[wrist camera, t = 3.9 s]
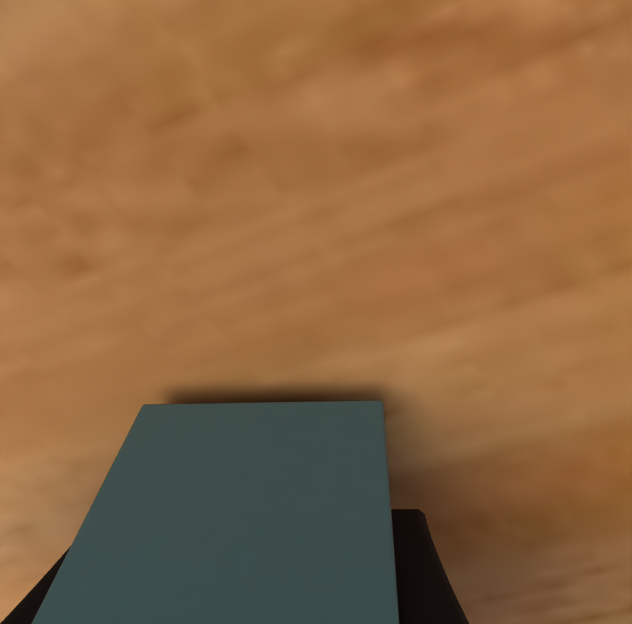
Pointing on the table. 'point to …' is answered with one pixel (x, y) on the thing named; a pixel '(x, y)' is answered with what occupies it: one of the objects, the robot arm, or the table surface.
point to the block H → (238, 521)
